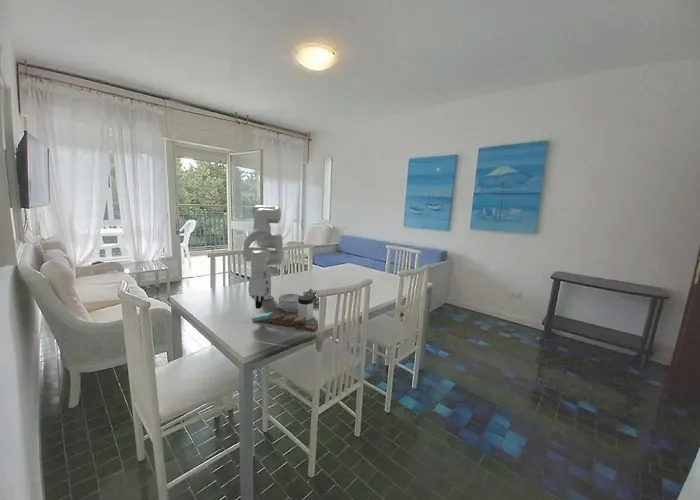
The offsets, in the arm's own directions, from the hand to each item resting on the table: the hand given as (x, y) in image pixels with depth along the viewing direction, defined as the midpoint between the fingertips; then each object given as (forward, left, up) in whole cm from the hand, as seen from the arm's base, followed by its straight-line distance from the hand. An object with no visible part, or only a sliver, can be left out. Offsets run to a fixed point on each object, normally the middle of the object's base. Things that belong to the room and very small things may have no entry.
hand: (258, 307), depth 152 cm
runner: (+8, 0, -8) cm, 11 cm away
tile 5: (+22, 0, -6) cm, 23 cm away
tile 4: (+16, 0, -6) cm, 17 cm away
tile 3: (+10, 0, -6) cm, 12 cm away
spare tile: (-2, 0, -6) cm, 7 cm away
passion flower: (+17, +34, -8) cm, 39 cm away
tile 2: (+4, 0, -6) cm, 7 cm away
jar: (+22, +12, -8) cm, 26 cm away
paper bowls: (+10, +21, -8) cm, 24 cm away
